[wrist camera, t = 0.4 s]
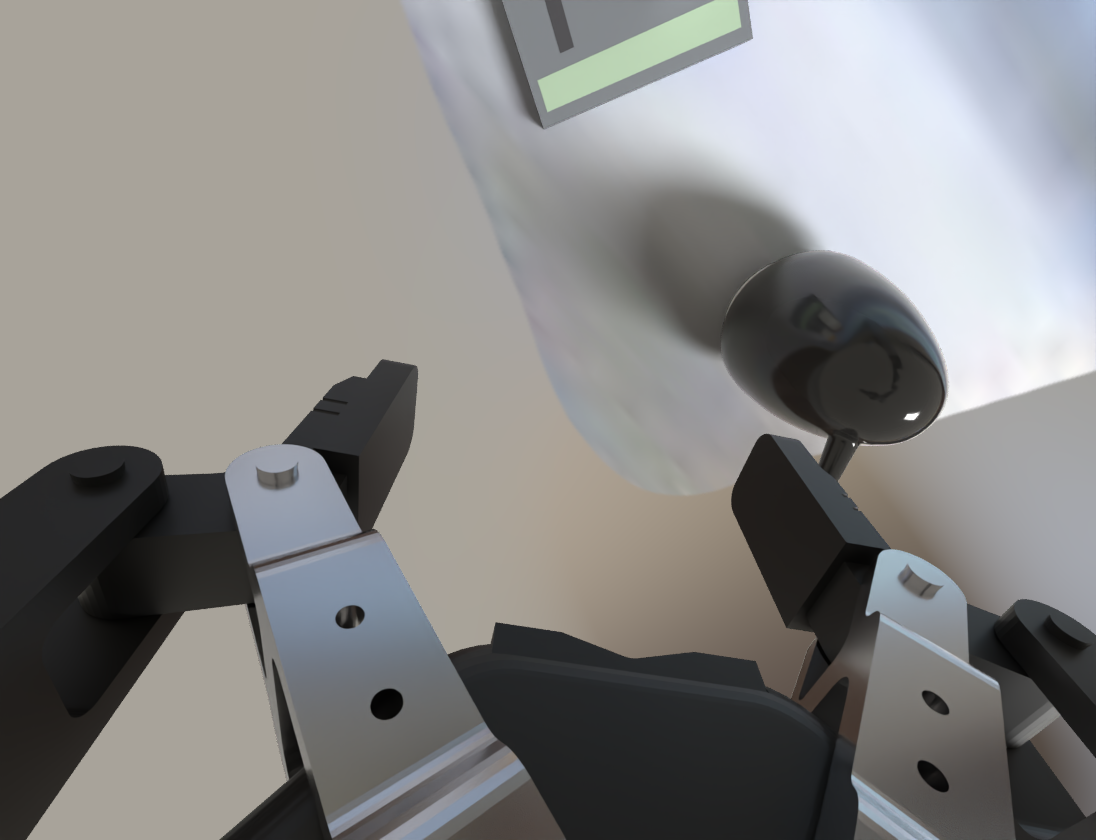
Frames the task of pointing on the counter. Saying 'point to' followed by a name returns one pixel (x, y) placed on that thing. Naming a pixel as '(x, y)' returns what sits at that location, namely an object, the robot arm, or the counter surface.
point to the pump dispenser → (835, 353)
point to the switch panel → (615, 45)
